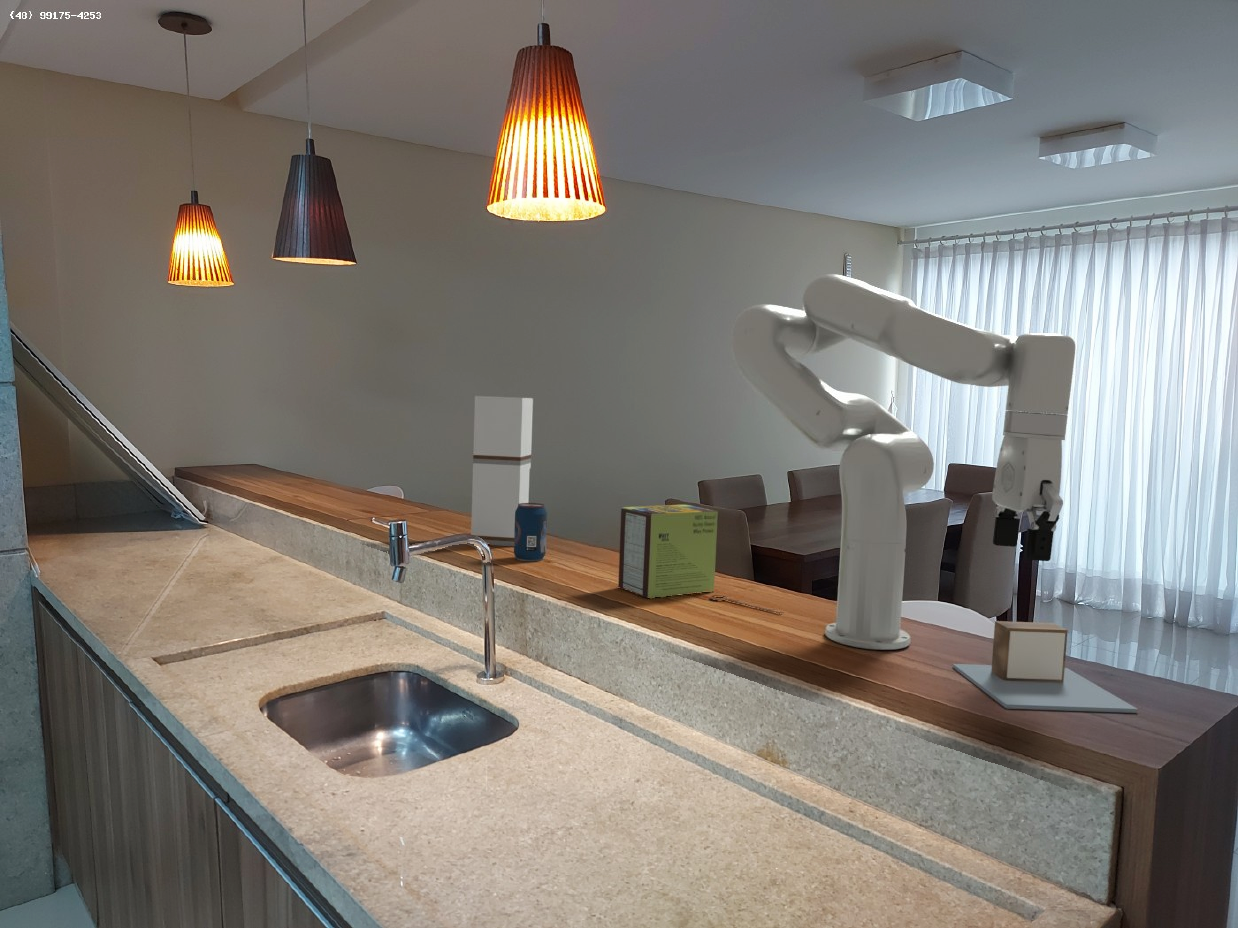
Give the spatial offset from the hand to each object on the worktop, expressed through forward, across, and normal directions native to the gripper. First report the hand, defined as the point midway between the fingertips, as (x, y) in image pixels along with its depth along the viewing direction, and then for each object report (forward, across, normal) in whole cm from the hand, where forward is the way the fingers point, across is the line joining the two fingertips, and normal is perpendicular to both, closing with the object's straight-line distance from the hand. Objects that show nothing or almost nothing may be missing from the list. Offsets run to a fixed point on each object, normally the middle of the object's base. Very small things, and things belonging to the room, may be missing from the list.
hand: (1020, 552), depth 116 cm
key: (+19, -33, -31) cm, 49 cm away
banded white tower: (+22, -88, -84) cm, 124 cm away
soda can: (+21, -68, -74) cm, 103 cm away
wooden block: (+16, +4, +1) cm, 17 cm away
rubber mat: (+16, +7, +1) cm, 18 cm away
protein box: (+19, -43, -45) cm, 65 cm away
